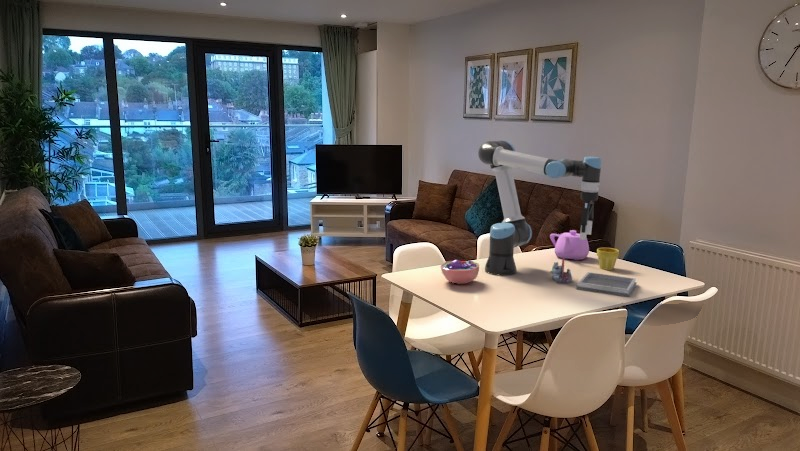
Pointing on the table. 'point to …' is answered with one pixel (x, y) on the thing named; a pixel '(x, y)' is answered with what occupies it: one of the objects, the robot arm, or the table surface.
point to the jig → (607, 284)
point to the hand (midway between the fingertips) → (585, 236)
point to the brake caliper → (561, 273)
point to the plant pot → (607, 257)
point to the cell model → (460, 271)
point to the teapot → (570, 246)
